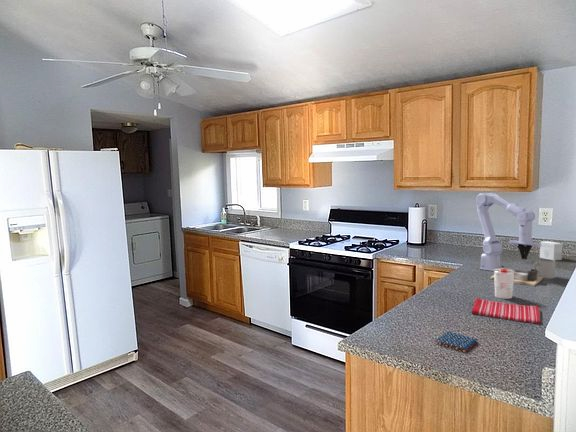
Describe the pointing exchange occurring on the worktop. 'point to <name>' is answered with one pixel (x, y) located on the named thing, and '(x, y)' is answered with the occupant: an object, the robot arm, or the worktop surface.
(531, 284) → the board
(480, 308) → the dish towel
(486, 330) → the worktop surface
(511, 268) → the retention strap
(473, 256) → the worktop surface
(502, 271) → the canister
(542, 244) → the skincare box
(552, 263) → the cup
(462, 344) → the woven mat
